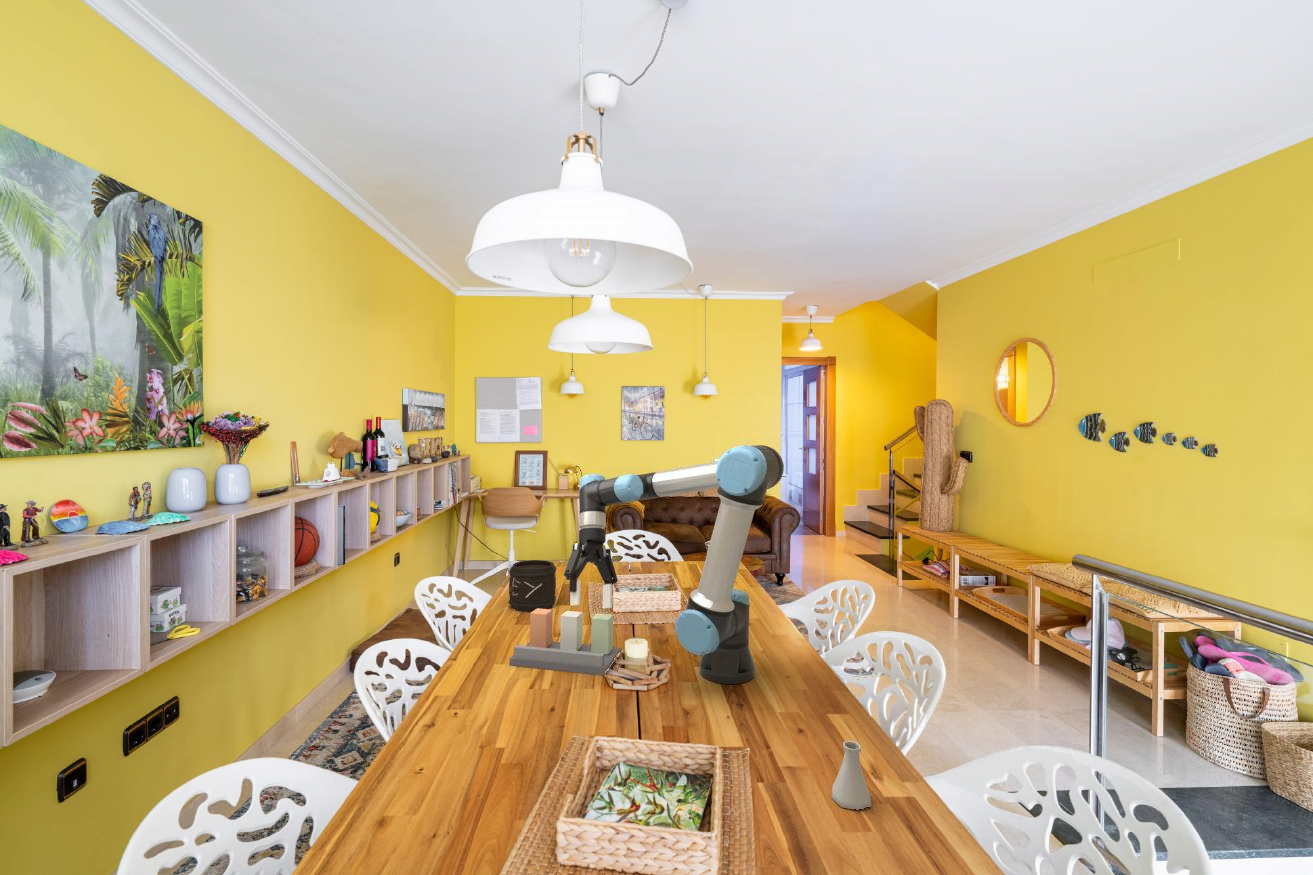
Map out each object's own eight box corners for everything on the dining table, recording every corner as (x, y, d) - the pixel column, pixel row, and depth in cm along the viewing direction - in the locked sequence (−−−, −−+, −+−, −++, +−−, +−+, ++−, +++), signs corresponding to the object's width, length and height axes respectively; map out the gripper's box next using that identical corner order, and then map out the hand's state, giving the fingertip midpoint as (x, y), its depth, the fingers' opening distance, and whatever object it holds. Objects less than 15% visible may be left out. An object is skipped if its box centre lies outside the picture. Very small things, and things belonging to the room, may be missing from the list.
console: (621, 654, 180) (621, 637, 180) (604, 675, 165) (605, 657, 165) (533, 645, 186) (533, 629, 186) (509, 665, 171) (509, 647, 171)
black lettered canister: (498, 605, 229) (498, 563, 229) (540, 596, 241) (540, 557, 241) (522, 616, 216) (522, 572, 216) (565, 607, 228) (565, 565, 227)
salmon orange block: (552, 642, 183) (552, 609, 183) (545, 648, 178) (546, 614, 178) (536, 641, 184) (537, 608, 184) (529, 646, 179) (530, 613, 179)
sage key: (612, 648, 179) (613, 614, 179) (607, 654, 174) (608, 619, 174) (596, 646, 180) (597, 613, 180) (591, 652, 175) (591, 618, 175)
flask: (863, 787, 115) (864, 734, 114) (878, 811, 107) (879, 755, 107) (825, 787, 114) (826, 734, 114) (838, 811, 107) (839, 755, 107)
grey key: (582, 645, 181) (582, 612, 181) (576, 651, 176) (576, 617, 176) (566, 644, 182) (566, 610, 182) (560, 649, 177) (560, 615, 177)
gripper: (609, 537, 183) (609, 610, 176) (551, 523, 164) (549, 605, 156) (629, 534, 180) (630, 608, 172) (573, 519, 160) (571, 602, 153)
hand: (591, 606), depth 164 cm, fingers open, 13 cm apart
